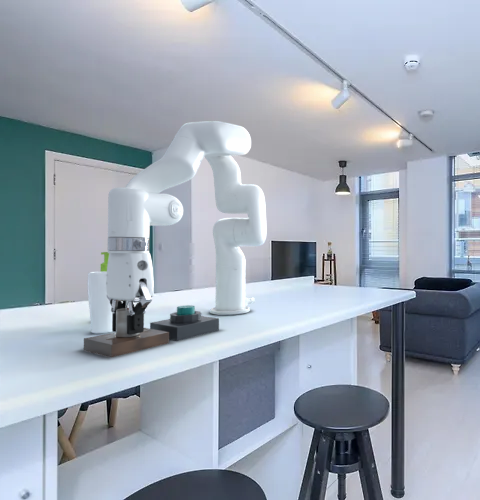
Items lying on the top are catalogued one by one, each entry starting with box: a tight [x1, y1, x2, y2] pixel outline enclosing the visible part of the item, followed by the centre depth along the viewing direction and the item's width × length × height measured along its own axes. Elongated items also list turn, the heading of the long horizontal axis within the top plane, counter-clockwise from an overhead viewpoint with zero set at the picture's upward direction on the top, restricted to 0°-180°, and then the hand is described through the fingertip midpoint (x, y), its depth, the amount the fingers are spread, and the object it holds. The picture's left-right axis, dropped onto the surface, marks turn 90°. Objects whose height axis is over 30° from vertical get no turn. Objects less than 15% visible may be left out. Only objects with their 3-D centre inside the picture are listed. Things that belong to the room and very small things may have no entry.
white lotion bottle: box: [86, 271, 114, 335], centre depth 88 cm, size 7×7×15 cm
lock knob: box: [116, 307, 140, 337], centre depth 74 cm, size 4×4×6 cm
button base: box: [149, 310, 220, 342], centre depth 87 cm, size 12×10×5 cm
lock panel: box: [83, 327, 170, 358], centre depth 74 cm, size 12×10×3 cm
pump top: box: [176, 304, 196, 315], centre depth 87 cm, size 4×4×2 cm
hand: (127, 330), depth 74 cm, fingers open, 4 cm apart
